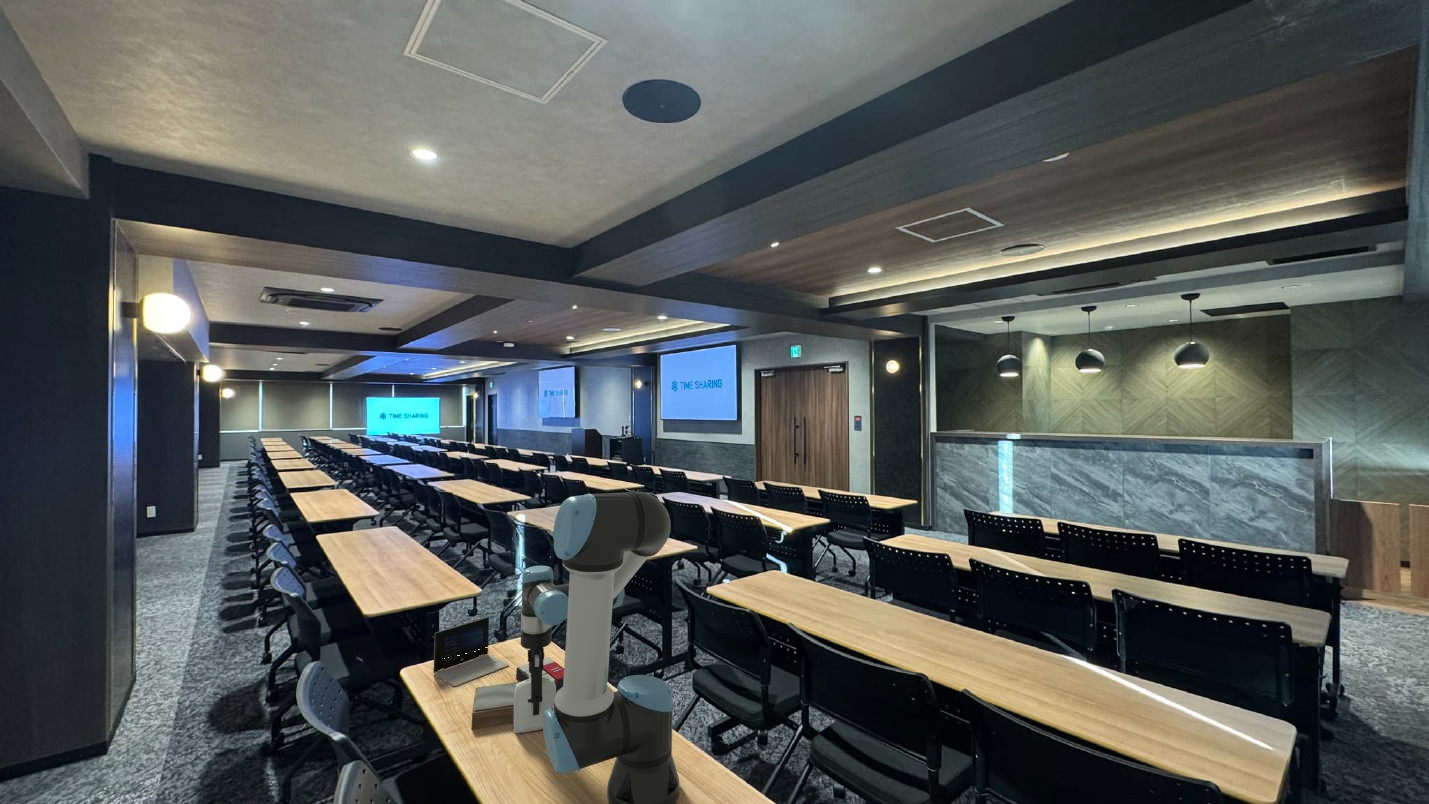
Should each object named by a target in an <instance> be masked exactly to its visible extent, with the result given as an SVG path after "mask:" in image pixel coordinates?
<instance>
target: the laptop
mask: <svg viewBox="0 0 1429 804" xmlns="http://www.w3.org/2000/svg"><path fill="white" fill-rule="evenodd" d="M489 626H490V617H489V616H486V617H483V618H480V619H477V620H473V621H470V622H466V623H462V624H460V625H459V624H458V625H457V626H453V627H449V628H447V629H444V630H439V631H437V632H434V645H433V647H434V648H433V670H432V671H433V672H432V673H433V676H434V677H436V678H438V679H439V680H441V681H443V682H445V683H446V684H449V685H451V686H453V687H458V686H460V685H463V684H466V683H468V682H470V681H473V680H475V679H478V678H481V677H483V676H486V675H489V674H491V673H494V672H496V671H499V670H502V669H504V668H506V667H509V666H510V664H509V663H507V662H504V661H502V660H500V659H499V658H497V657H494V656H493V655H490V654H489V635H490V634H489V633H490V632H489V631H490V629H489V628H490V627H489ZM485 647H488V648H485ZM478 649H480V650H478ZM474 651H476V652H474ZM465 653H467V654H465ZM457 655H460V656H457ZM448 657H449V658H448ZM444 658H445V659H444Z"/></svg>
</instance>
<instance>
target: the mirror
mask: <svg viewBox="0 0 1429 804" xmlns="http://www.w3.org/2000/svg"><path fill="white" fill-rule="evenodd" d="M521 682H522V681H521ZM518 683H520V682H519V681H515V682H508V683H500V684H493V685H492V684H491V685H484V686H477V687H475V688H474V689H475V690H474V698H473V705H472V712H471V730H475V729H476V730H477V729H482V728H488V727H494V726H495V727H496V726H502V725H508V724H514V692H515V688H516V684H518Z"/></svg>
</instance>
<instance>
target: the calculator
mask: <svg viewBox="0 0 1429 804" xmlns="http://www.w3.org/2000/svg"><path fill="white" fill-rule="evenodd" d="M515 672H516V673H515V674H516V676H515V679H516V680H517V682H521V681H524V680H527V679H529V673H530V672H529V663H527V664H524V665H520V666H518V667H516V671H515ZM542 677H547V678H552V679H554V683H555V685H556V692H558V691H559V690H560V689H561V688H562V687H563V681H564V667H563V666H562V665H560V664H559V663H558V662H556V661H554V660H553V659H552V658H551V657H546V658H545V657H544V660H543V671H542Z"/></svg>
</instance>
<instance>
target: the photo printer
mask: <svg viewBox="0 0 1429 804" xmlns="http://www.w3.org/2000/svg"><path fill="white" fill-rule="evenodd" d="M556 693H557V691H556V685H555V683H554V679H552V678H547V677H542V698H543V700H542V716H541V726H538V727H532V728H530V702H529V703H528V699H530V698H531V679H527V680H524V681H522V682H520V683H518V684H516V688H515V692H514V723H513V732H514V734H521V733H529V732H535V731H539V730H543V714H544V712H545V711H546V710H548V709H549V708H554V699H555V695H556Z"/></svg>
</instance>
